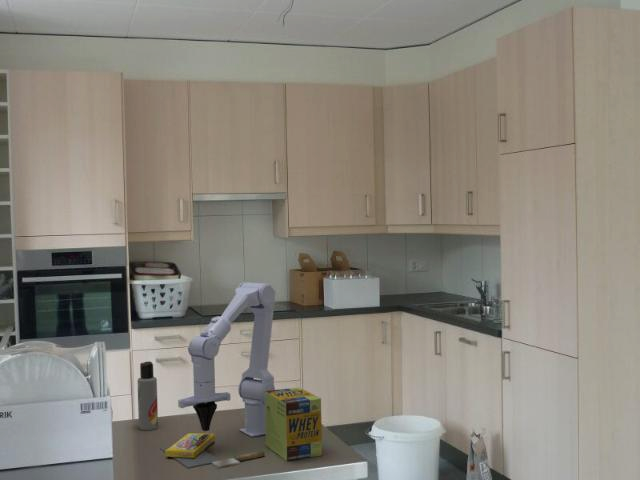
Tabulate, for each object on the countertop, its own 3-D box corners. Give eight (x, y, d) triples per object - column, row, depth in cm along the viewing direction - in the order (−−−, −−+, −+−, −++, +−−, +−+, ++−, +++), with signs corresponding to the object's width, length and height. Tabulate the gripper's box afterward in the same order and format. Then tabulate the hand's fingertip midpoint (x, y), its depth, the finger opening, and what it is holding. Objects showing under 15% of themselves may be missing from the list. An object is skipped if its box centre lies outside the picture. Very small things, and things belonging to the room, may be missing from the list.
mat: (189, 442, 224) (189, 441, 224) (220, 461, 207) (220, 460, 207) (159, 448, 219) (159, 447, 219) (187, 468, 202) (187, 467, 202)
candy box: (194, 450, 208) (164, 450, 210) (194, 458, 208) (165, 458, 210) (214, 432, 224) (187, 432, 226) (215, 440, 224) (187, 440, 226)
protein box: (286, 461, 206) (285, 403, 205) (265, 445, 220) (264, 390, 219) (323, 455, 210) (322, 398, 210) (299, 440, 224) (298, 386, 224)
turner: (259, 454, 213) (259, 448, 212) (267, 458, 209) (266, 452, 209) (212, 464, 205) (211, 458, 205) (218, 468, 202) (218, 463, 202)
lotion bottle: (162, 426, 240) (160, 361, 239) (148, 431, 235) (146, 365, 234) (148, 424, 243) (146, 359, 242) (134, 429, 238) (132, 363, 237)
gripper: (222, 374, 222) (223, 422, 222) (173, 381, 214) (174, 431, 215) (233, 379, 216) (234, 428, 217) (183, 386, 208) (184, 437, 209)
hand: (205, 430), depth 215 cm, fingers closed
